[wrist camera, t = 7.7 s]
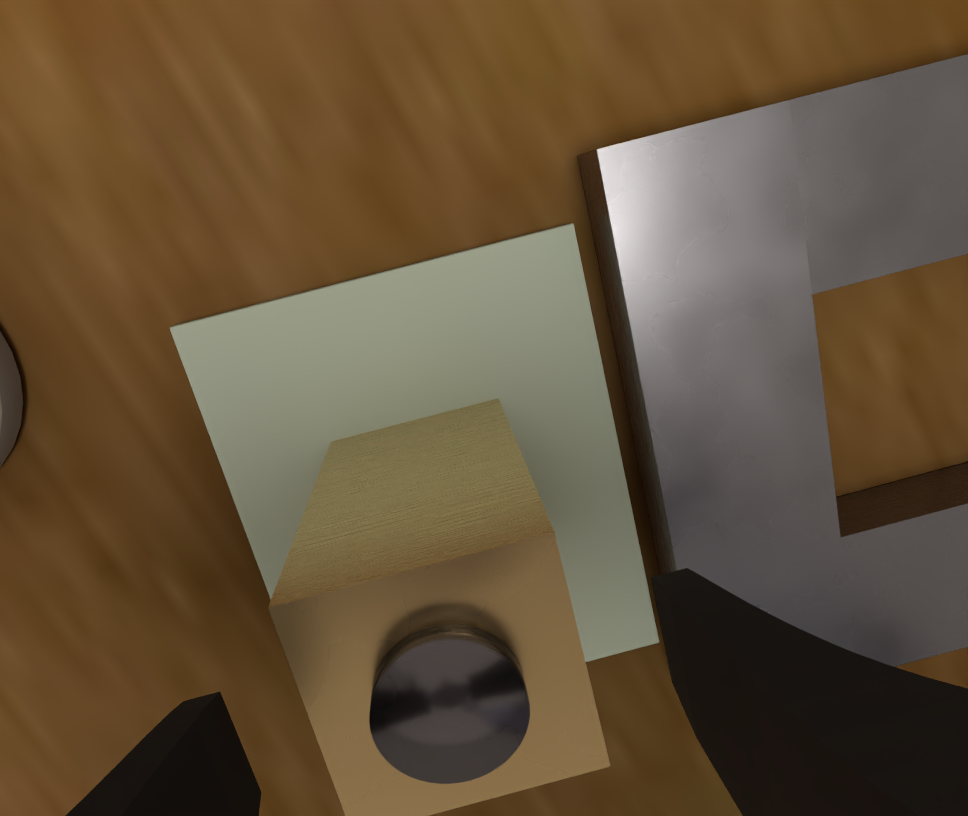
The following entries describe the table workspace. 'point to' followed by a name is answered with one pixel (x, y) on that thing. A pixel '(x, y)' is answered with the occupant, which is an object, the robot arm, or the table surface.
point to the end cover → (435, 621)
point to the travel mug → (9, 400)
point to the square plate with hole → (785, 348)
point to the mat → (432, 401)
